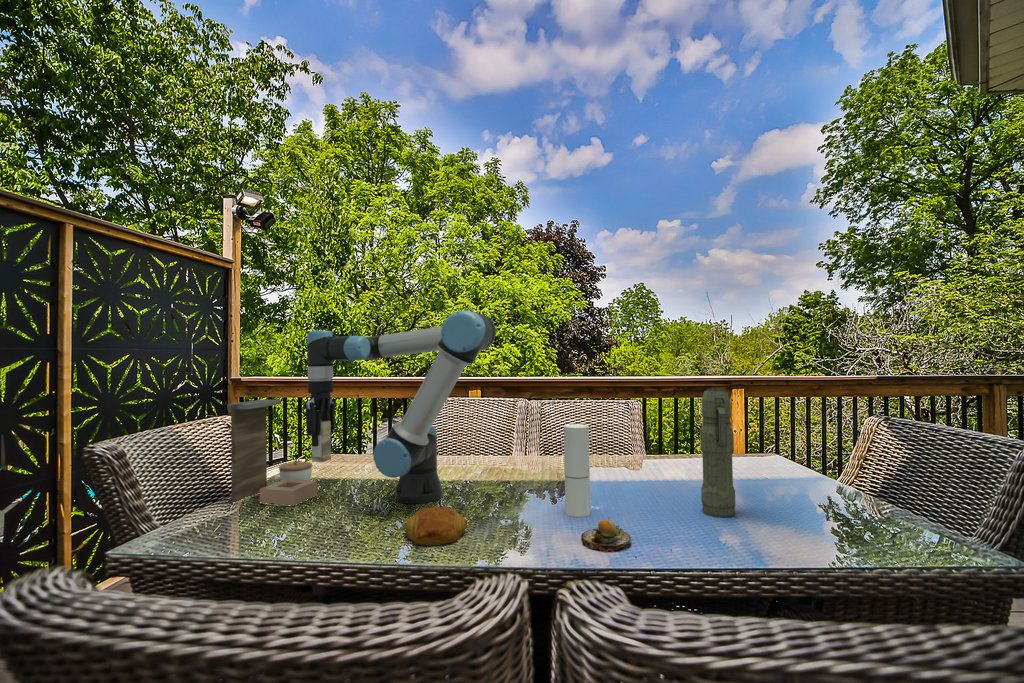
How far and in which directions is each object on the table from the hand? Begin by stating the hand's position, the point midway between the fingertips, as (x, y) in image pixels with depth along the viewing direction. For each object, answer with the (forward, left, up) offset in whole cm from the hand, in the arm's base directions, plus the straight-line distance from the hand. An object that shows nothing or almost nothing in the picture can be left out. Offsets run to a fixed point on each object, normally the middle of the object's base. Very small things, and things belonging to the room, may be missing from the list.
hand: (321, 454), depth 158 cm
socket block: (+13, -2, -15) cm, 20 cm away
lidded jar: (+22, -17, -16) cm, 32 cm away
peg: (0, 0, -2) cm, 2 cm away
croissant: (-45, +19, -16) cm, 51 cm away
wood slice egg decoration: (-88, +15, -16) cm, 91 cm away
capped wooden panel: (+25, -2, -15) cm, 30 cm away
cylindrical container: (-79, -6, -16) cm, 81 cm away
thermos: (-118, -14, -16) cm, 120 cm away
